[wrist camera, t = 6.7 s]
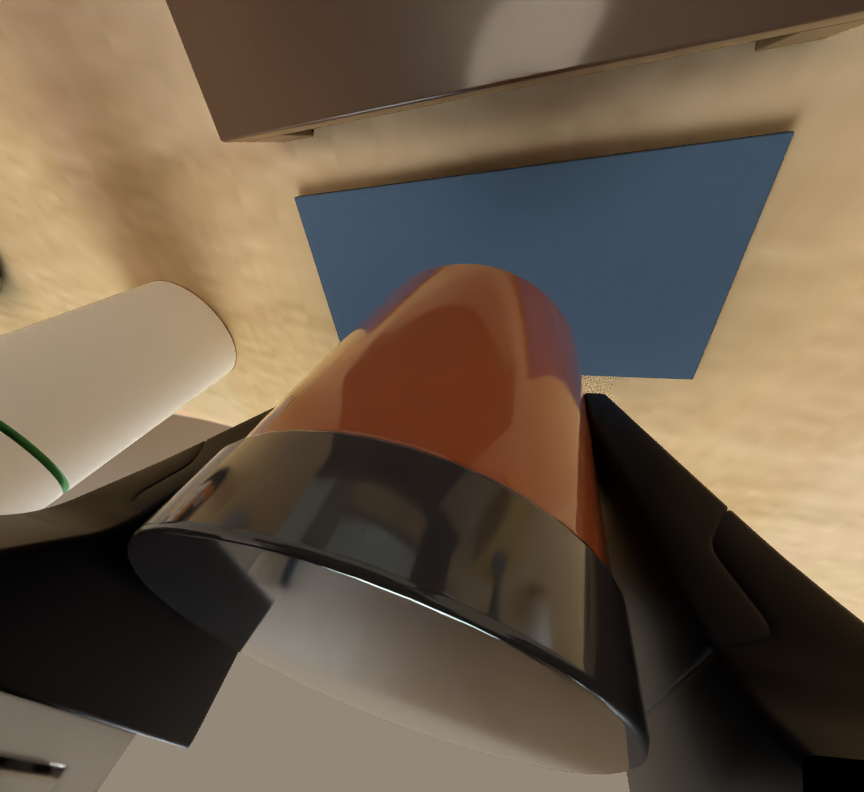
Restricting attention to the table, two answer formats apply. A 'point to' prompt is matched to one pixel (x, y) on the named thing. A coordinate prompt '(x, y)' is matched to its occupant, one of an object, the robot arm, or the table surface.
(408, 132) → the table surface
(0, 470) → the cylindrical container
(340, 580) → the jar
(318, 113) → the shelf
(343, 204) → the mat
